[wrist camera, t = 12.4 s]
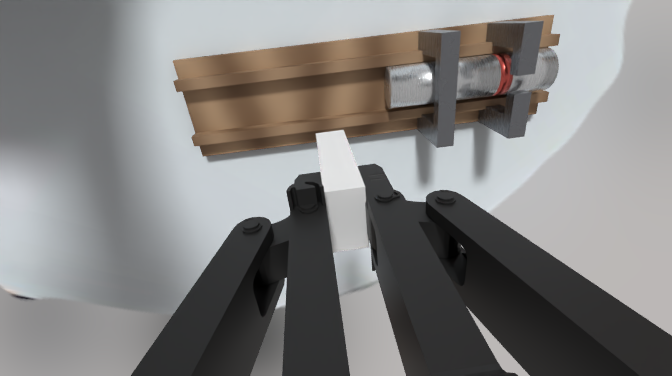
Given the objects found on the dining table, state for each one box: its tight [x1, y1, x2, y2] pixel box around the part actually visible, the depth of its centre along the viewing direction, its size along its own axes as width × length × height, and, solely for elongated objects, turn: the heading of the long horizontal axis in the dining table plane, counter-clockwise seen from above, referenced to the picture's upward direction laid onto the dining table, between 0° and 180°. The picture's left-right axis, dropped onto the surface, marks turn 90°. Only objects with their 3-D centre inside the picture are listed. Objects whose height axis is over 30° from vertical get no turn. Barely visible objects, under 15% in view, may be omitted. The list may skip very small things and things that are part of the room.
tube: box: [384, 48, 559, 109], centre depth 33 cm, size 16×4×4 cm, turn 96°
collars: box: [417, 21, 544, 148], centre depth 32 cm, size 9×10×6 cm
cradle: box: [173, 15, 560, 156], centre depth 34 cm, size 38×10×2 cm, turn 96°
